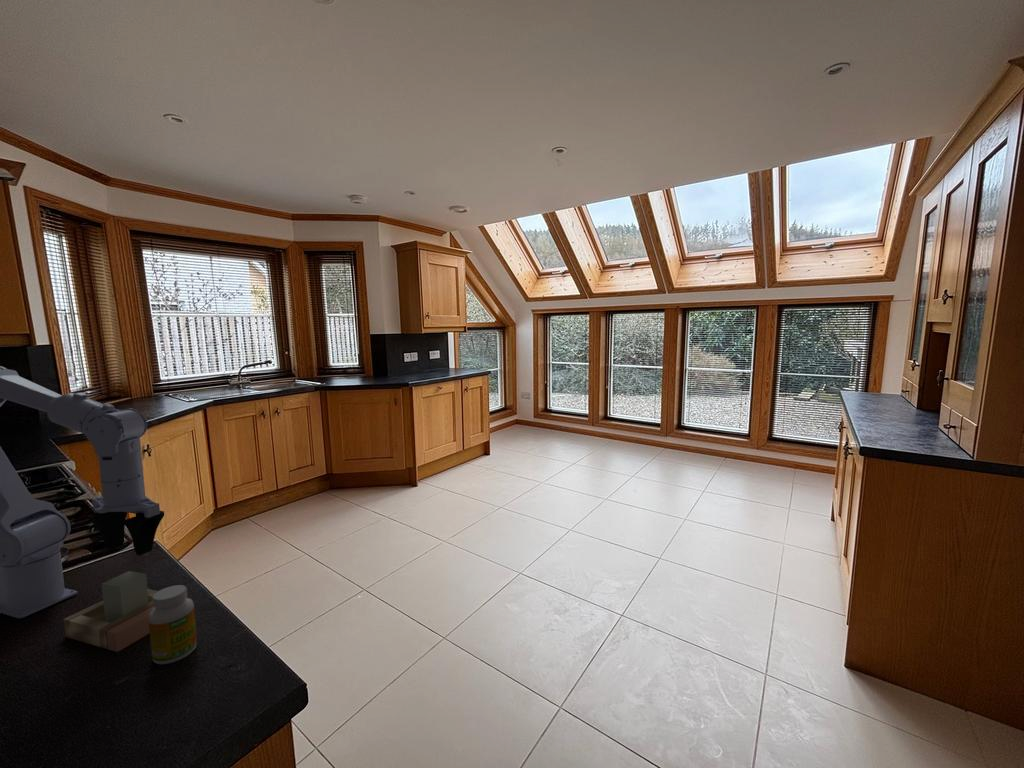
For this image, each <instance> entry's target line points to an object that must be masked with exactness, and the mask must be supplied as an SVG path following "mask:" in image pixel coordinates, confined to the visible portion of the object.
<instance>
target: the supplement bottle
mask: <svg viewBox="0 0 1024 768" xmlns="http://www.w3.org/2000/svg"><path fill="white" fill-rule="evenodd" d="M157 591H158V592H157V593H155V594H154V596H153V605H154V607H155V608H154V609H153V610H152V611H151V612H150V614H149V629H150V633H149V637H150V646H151V647H150V648H151V658H152V661H153V663H155V664H157V665H169V664H172V663H175V662H176V663H177V662H178V661H180V660H182V659H185V658H187V657H188V656H189V655H190V654H192V652H194V651H195V649H196V648H197V645H198V638H197V626H196V616H195V615H196V614H195V604H194V601H193V600H192V599H191V598H190V597H188V589H187V587H186V586H185V585H182V584H179V585H178V584H177V585H171V586H167V587H165V588H162V589H160V590H157Z"/></svg>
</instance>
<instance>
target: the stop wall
mask: <svg viewBox="0 0 1024 768" xmlns="http://www.w3.org/2000/svg"><path fill="white" fill-rule="evenodd" d="M154 608H155V607H154V606H153V607H151V608H149V609H147V610H145V611H143V612H141V613H140V614H138V615H136V616H134V617H132V618H130V619H128V620H127V621H125V622H123V623H121V624H119V625H117V626H115V627H113V628H112V629H110V630H108V631H107V639H108V649H107V650H108V651H112V652H115V653H119V652H120V651H122V650H123V649H125V648H127V647H129V646H130V645H132V644H133V643H136V642H137V641H139V640H141V639H142V638H144V637H145V636H148V635H150V629H149V614H150V612H151V611H152V610H153V609H154Z"/></svg>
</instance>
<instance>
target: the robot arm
mask: <svg viewBox="0 0 1024 768" xmlns="http://www.w3.org/2000/svg"><path fill="white" fill-rule="evenodd" d="M6 401H9V402H12V403H16V404H19V405H22V406H25V407H28V408H32V409H35V410H38V411H41V412H45V413H46V414H47V417H48V420H49V421H50V422H52V423H54V424H56V425H58V426H62V427H65V428H67V429H70V430H73V431H75V432H78V433H81V434H83V435H85V436H86V439H87V441H89V443H91V445H92V447H93V448H94V454H95V455H96V457H98V466H99V467H98V468H99V475H100V485H101V486H100V487H101V495H102V496H99V497H95V498H92V499H91V504H92V509H93V510H95V512H93V513H91V514H87V519H88V520H89V521H90V522H91V523H92V524H93V525H94V526H95V528H96V529H97V530H98V532H99V534H100V535H101V538H102V539H103V542H104V545H105V547H106V548H107V550H109V551H111V550H115V549H117V548H119V547H122V546H124V543H125V527H126V529H127V532H129V535H130V538H131V540H132V545H133V550H134V552H135V554H136V556H139V557H140V556H141V555H142V556H143V555H145V554H147V553H149V552H151V551H152V550H153V545H154V542H155V536H156V534H157V530H158V528H159V524H161V521H162V520H163V518H164V516H165V511H164V510H161V509H160V503H158V502H155V501H153V500H152V499H151V498H149V497H148V496H146V490H145V489H146V487H145V477H144V475H145V474H144V467H143V466H144V465H143V457H142V456H143V455H142V445H141V437H143V436H144V435H145V434H146V433H147V430H148V422H147V418H146V417H145V416H144V415H143V414H142V413H141V412H140V411H138V410H136V409H135V408H131V407H130V408H124V409H117V408H115V405H113V404H110V403H107V404H105V403H102V402H99V401H97V400H94V399H91V398H89V394H87V393H84V392H69V393H65V394H63V395H62V394H60V393H58V392H56V391H53V390H51V389H48V388H46V387H44V386H43V385H42V386H41V385H40V384H37V383H35V382H33V381H31V380H29V379H26V378H24V377H22V376H20V375H19V373H18V371H16V370H15V369H8V368H7V367H4V366H2V365H0V408H1V407H2V406H3V405H4V404H5V402H6ZM128 514H134V515H135V516H133V517H129V518H127V516H128ZM17 522H18V523H17ZM14 523H16V524H14ZM12 524H13V525H12ZM71 527H72V526H71V522H70V520H69V518H67V516H66V515H64V514H63V513H61V512H60V511H59V510H57V509H56V507H55V506H54V503H52V502H49V501H45V500H40V499H37V498H33V496H32V495H31V492H30V491H29V490H28V488H27V486H26V485H25V484H24V481H23V480H22V479H21V477H20V475H19V473H18V472H17V471H16V469H15V467H14V466H13V465H12V463H11V461H10V459H9V458H8V456H7V454H6V453H5V451H4V450H3V449H2V446H0V614H2V613H3V614H2V615H5V614H6V616H10V617H13V618H15V619H23V618H25V617H28V616H30V615H32V614H35V613H37V612H40V611H42V610H44V609H47V608H49V607H51V606H52V605H55V604H57V603H59V602H62V601H65V600H66V599H69V598H70V597H73V596H75V595H77V594H78V591H77V590H74V589H70V588H66V587H65V580H64V579H65V578H64V573H63V572H64V571H63V564H62V554H61V548H63V547H64V541H65V540H66V539H67V538H68V537H69V536H70V534H71Z"/></svg>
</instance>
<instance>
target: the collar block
mask: <svg viewBox="0 0 1024 768" xmlns="http://www.w3.org/2000/svg"><path fill="white" fill-rule="evenodd" d="M158 591H159V590H155V589H150V588H148V598H149V603H148V604H146V605H144V606H142V607H140V608H138V609H136V610H134V611H132V612H130V613H129V614H127V615H125V616H123V617H121V618H119V619H117V620H115V621H113V622H111V623H109V622H105V612H104V603H103V600H101V601H99V602H96V603H95V604H94V603H93V605H90V606H89V607H88V606H87V607H86V608H84V609H82V610H80V611H78V612H76V613H74V614H71V615H69V616H67V617H64V618H63V625H64V626H63V627H64V633H65V634H64V635H65V637H66V638H68V639H72V640H76V641H79V642H83V643H86V644H89V645H93V646H96V647H99V648H103V649H106V650H109V649H108V639H107V631H108V630H110V629H112V628H113V627H115V626H117V625H119V624H121V623H123V622H125V621H127V620H128V619H130V618H132V617H134V616H136V615H138V614H140V613H141V612H143V611H145V610H147V609H149V608H151V607H153V606H154V605H153V596H154V594H155V593H157V592H158Z"/></svg>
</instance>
